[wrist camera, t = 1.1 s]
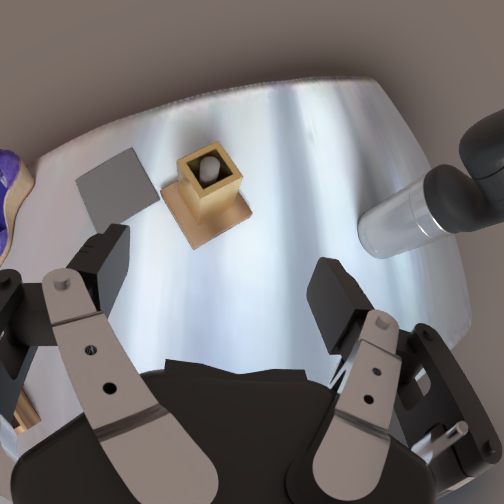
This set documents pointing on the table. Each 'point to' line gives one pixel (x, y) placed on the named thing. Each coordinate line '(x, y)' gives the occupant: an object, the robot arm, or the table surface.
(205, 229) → the peg stand
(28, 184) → the purple wedge sandal
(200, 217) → the sleeve
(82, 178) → the mat
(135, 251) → the table surface
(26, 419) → the bread tray
